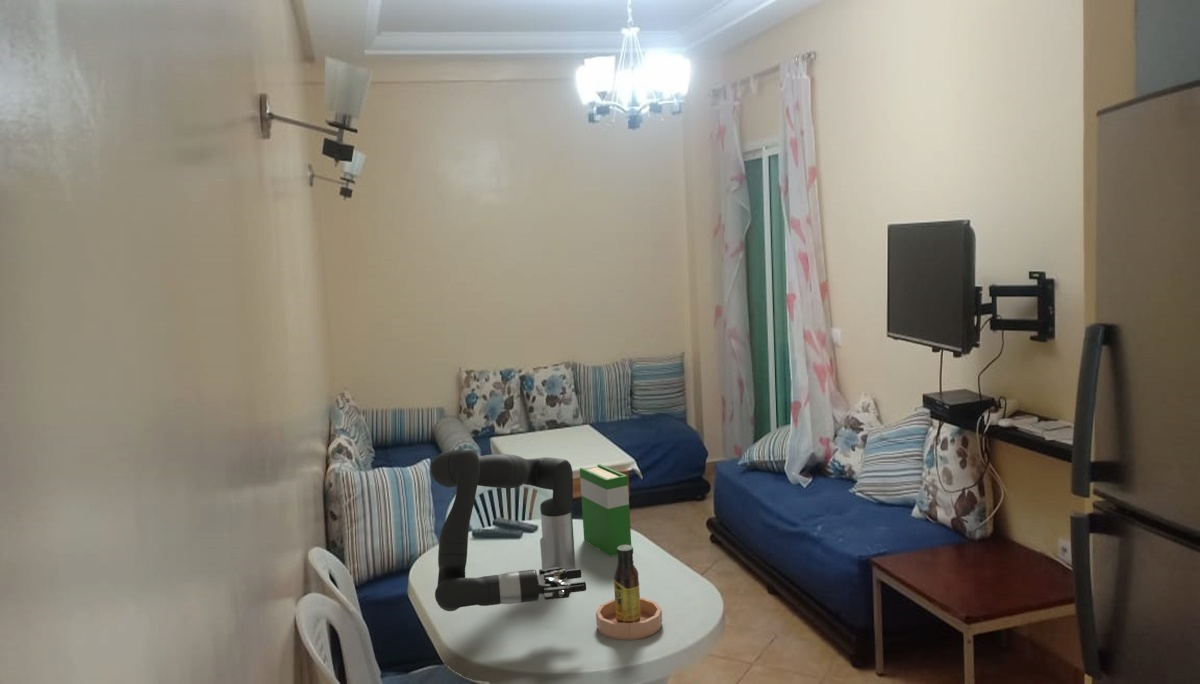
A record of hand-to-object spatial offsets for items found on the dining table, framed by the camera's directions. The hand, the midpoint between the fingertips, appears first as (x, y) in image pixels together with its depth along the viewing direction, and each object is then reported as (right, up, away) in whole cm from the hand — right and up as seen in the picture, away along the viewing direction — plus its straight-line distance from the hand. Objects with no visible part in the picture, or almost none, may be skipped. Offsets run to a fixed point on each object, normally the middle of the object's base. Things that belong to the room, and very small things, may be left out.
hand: (583, 579), depth 223 cm
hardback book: (+6, -6, +61) cm, 62 cm away
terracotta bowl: (+12, -13, +3) cm, 17 cm away
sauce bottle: (+11, -12, +3) cm, 17 cm away
